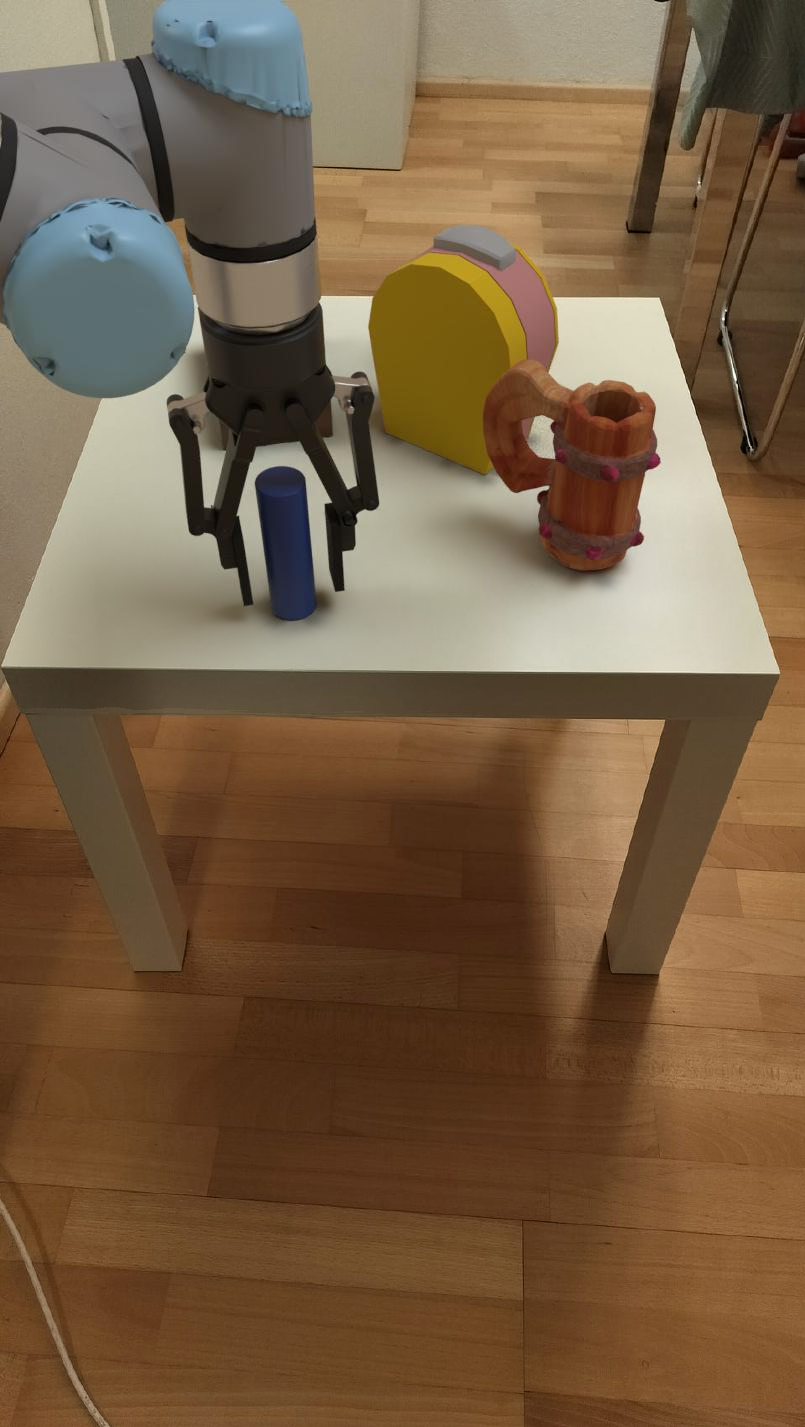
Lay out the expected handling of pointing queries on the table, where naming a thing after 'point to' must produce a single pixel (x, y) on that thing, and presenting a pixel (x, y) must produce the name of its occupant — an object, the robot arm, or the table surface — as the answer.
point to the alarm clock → (457, 338)
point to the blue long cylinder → (286, 541)
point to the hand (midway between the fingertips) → (291, 586)
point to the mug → (575, 460)
